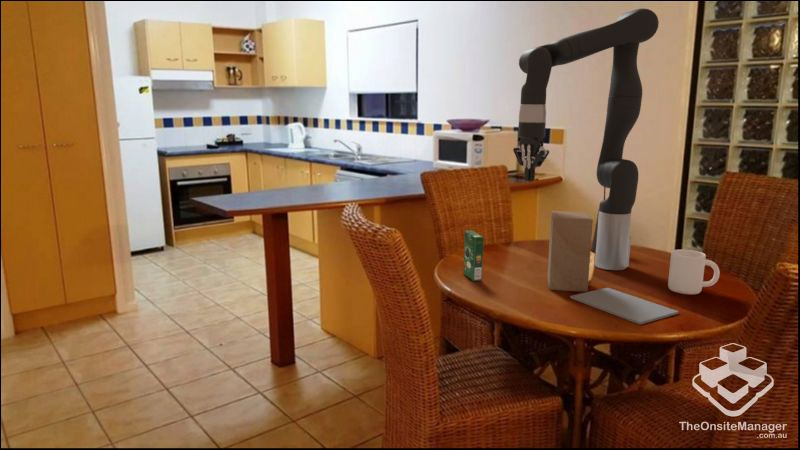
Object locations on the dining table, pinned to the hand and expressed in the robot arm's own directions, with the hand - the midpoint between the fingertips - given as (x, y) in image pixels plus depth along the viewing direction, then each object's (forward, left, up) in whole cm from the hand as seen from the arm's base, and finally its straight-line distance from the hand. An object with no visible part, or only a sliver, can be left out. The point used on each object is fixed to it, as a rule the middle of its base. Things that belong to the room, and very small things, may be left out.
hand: (529, 181), depth 167 cm
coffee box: (+18, -2, -27) cm, 33 cm away
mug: (-26, +37, -27) cm, 53 cm away
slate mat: (0, +36, -27) cm, 45 cm away
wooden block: (0, +17, -27) cm, 32 cm away
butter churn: (-38, -4, -27) cm, 47 cm away
